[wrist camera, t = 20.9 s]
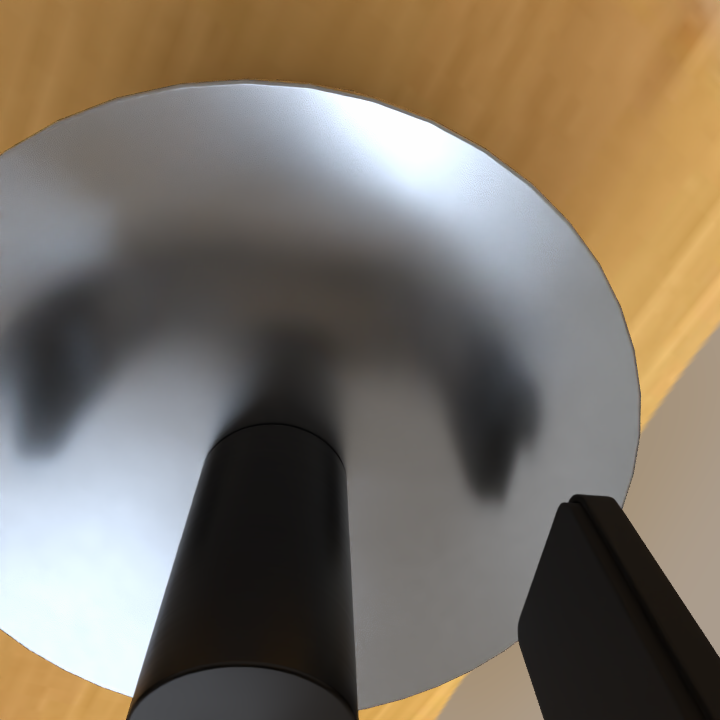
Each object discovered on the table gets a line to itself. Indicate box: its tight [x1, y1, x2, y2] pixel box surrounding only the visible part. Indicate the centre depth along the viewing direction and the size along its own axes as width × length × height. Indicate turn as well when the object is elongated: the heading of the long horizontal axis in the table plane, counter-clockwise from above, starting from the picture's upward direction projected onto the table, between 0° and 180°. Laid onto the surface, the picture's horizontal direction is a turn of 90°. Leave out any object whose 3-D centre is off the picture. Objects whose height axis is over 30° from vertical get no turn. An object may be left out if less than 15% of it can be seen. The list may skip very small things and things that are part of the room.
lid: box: [0, 78, 641, 720], centre depth 9 cm, size 13×13×6 cm
